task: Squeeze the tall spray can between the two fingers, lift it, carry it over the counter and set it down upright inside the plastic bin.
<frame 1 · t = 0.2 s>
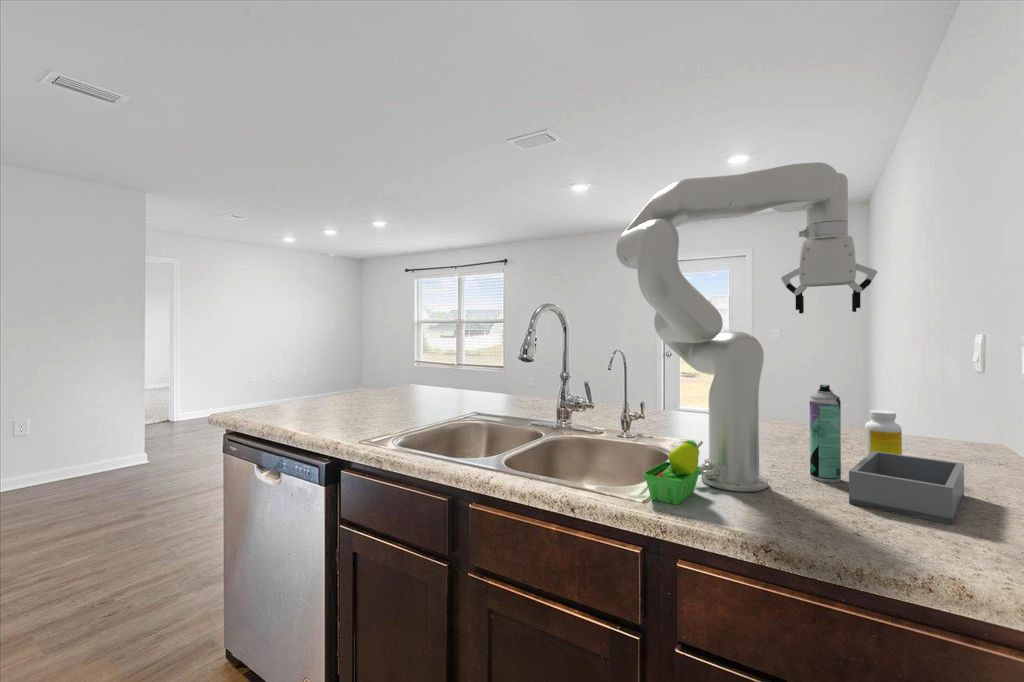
hand: (827, 312, 105), 35 cm above the table, tool pointing down, fingers open, 9 cm apart
bin: (907, 499, 90), on the table
spray can: (825, 479, 103), on the table
supplement bottle: (883, 468, 110), on the table
fruit basket: (675, 497, 93), on the table
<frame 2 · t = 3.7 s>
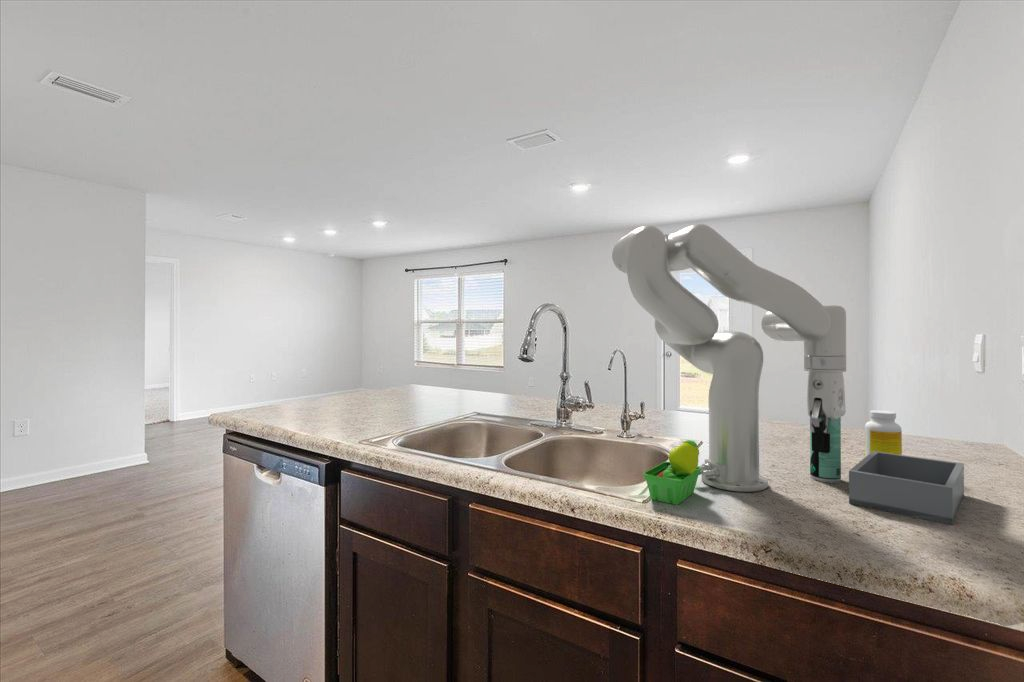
hand: (825, 448, 102), 7 cm above the table, tool pointing down, fingers closed on spray can, 5 cm apart
spray can: (825, 479, 103), on the table, touching gripper
everything else where it was.
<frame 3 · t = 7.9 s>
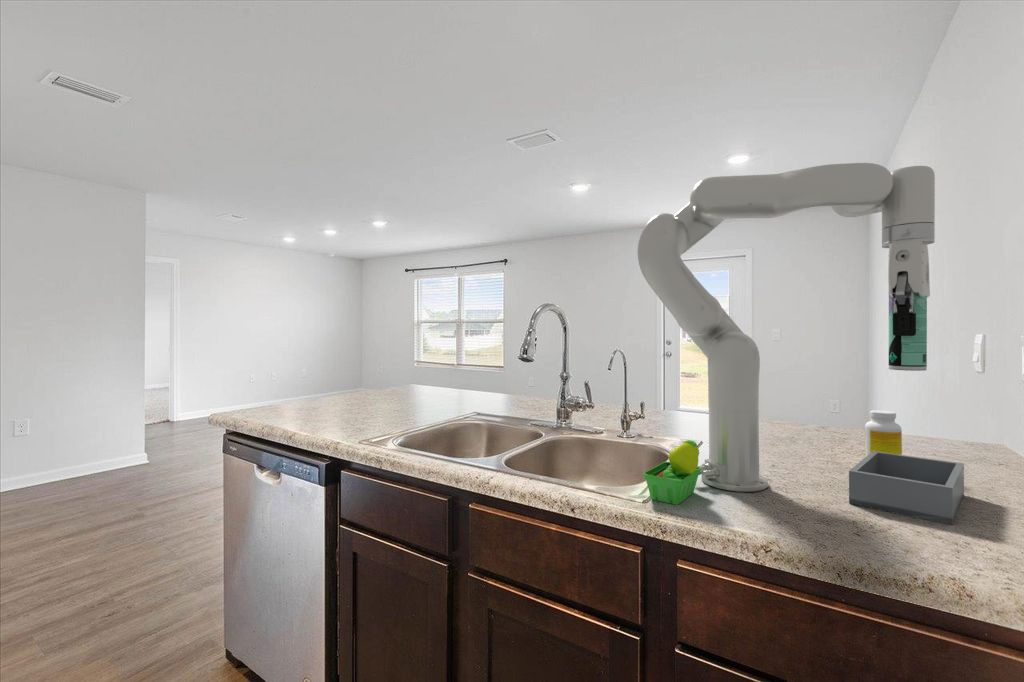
hand: (907, 334, 89), 31 cm above the table, tool pointing down, fingers closed on spray can, 5 cm apart
spray can: (907, 370, 89), point 24 cm above the table, touching gripper
everything else where it was.
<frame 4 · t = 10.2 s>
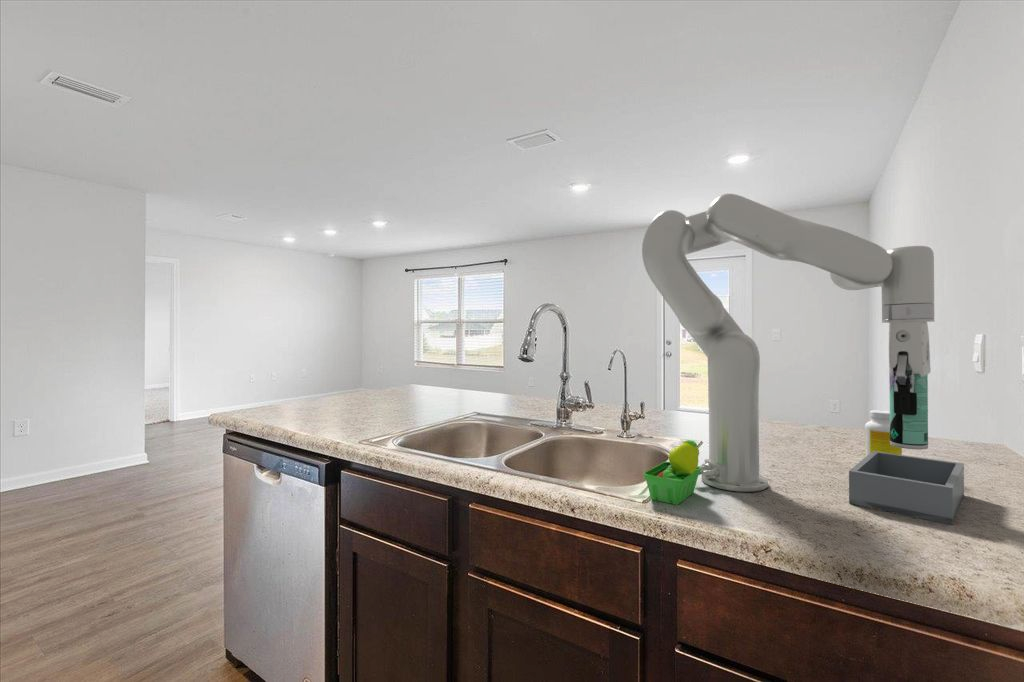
hand: (908, 411, 89), 16 cm above the table, tool pointing down, fingers closed on spray can, 5 cm apart
spray can: (908, 447, 90), point 10 cm above the table, touching gripper
everything else where it was.
when the fingers open (9 cm above the table, at t = 12.1 s): spray can drops 2 cm, resting on bin.
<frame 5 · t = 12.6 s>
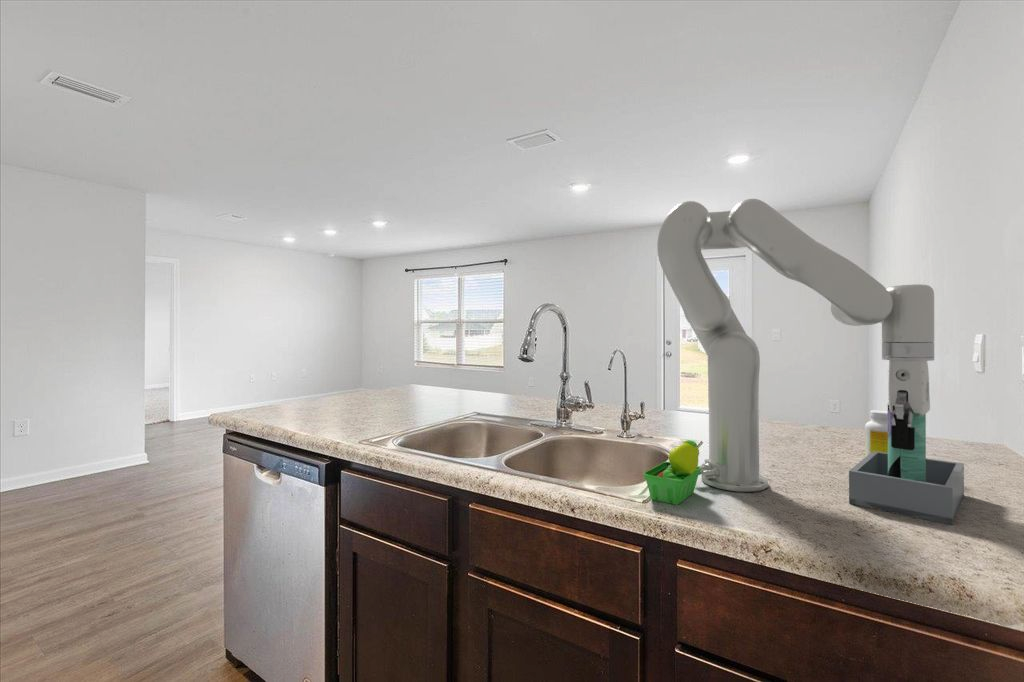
hand: (907, 444, 90), 10 cm above the table, tool pointing down, fingers open, 9 cm apart
spray can: (906, 494, 90), point 1 cm above the table, touching bin
everything else where it was.
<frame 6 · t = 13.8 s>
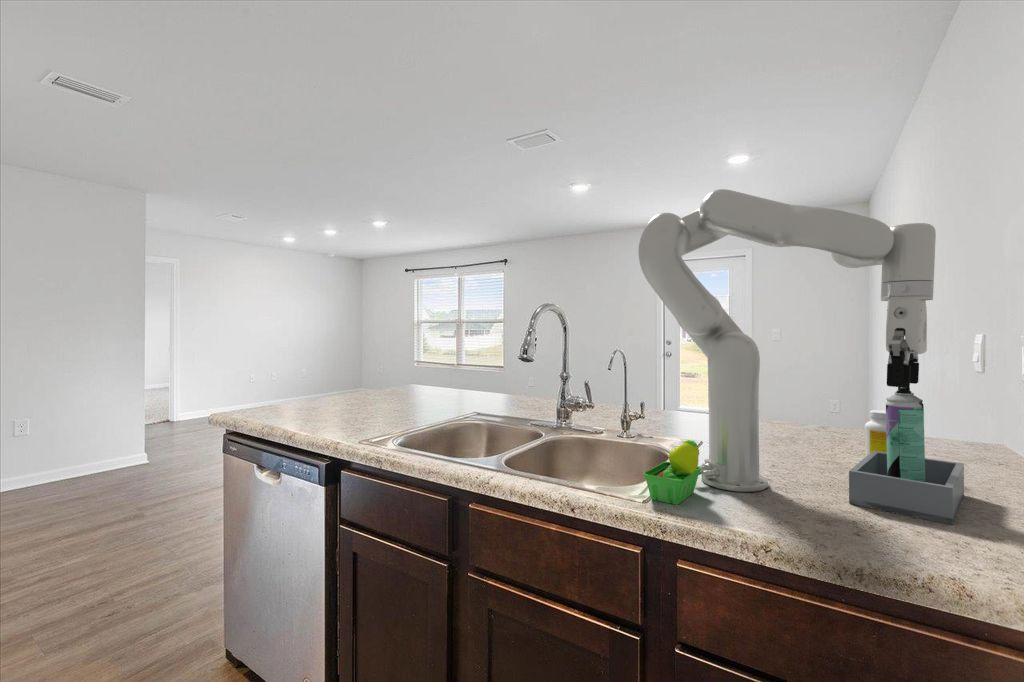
hand: (902, 384, 90), 21 cm above the table, tool pointing down, fingers open, 9 cm apart
nothing on the table moved.
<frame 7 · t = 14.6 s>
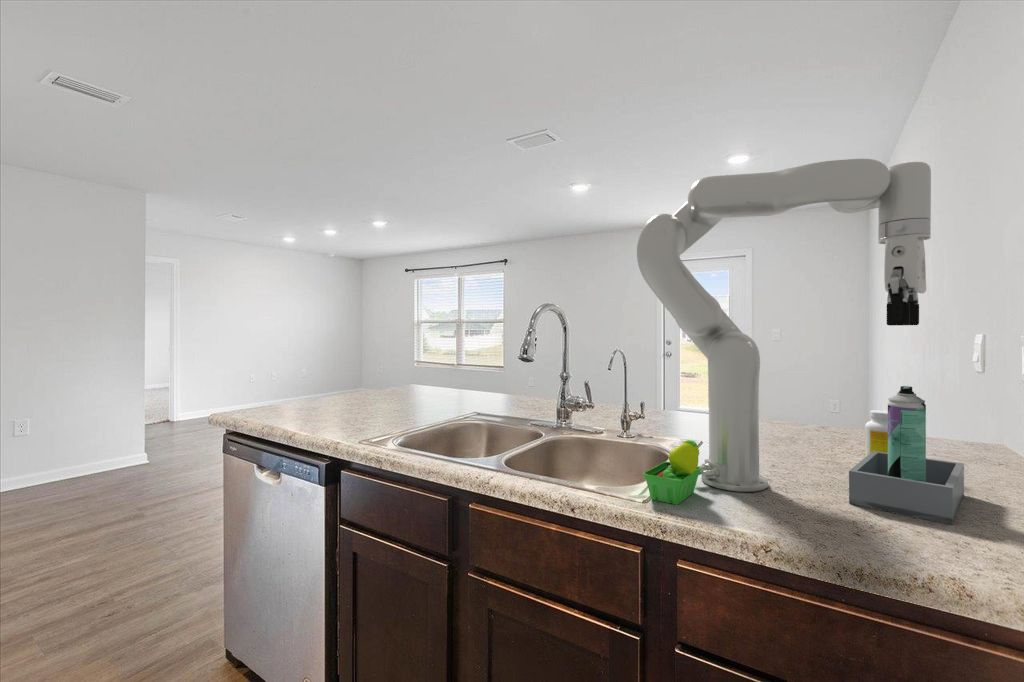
hand: (903, 325, 90), 32 cm above the table, tool pointing down, fingers open, 9 cm apart
nothing on the table moved.
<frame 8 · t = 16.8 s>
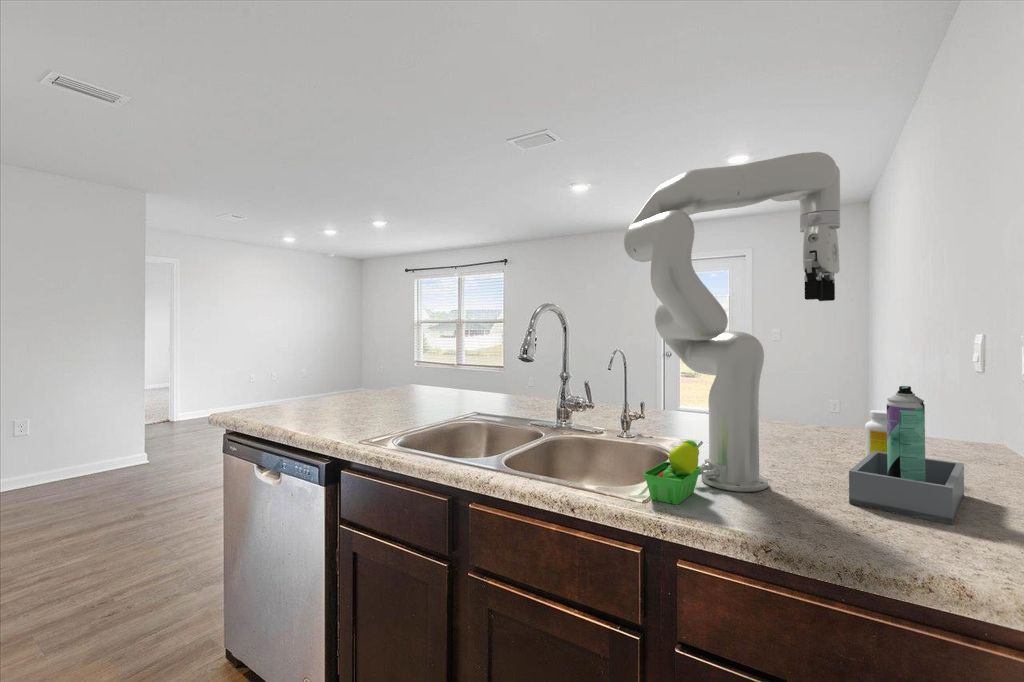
hand: (820, 300, 108), 38 cm above the table, tool pointing down, fingers open, 9 cm apart
nothing on the table moved.
at the end: spray can inside the target area on the bin (0.1 cm from its centre), point 0.8 cm above the bin's base; spray can tilted 1°; the gripper is holding nothing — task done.
